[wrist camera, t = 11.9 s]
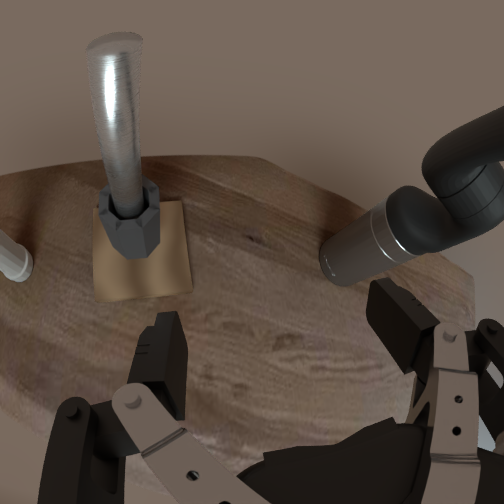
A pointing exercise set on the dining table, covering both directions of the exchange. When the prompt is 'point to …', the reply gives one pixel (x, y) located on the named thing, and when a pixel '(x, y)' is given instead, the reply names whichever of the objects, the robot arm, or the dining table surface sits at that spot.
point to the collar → (132, 223)
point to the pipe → (14, 259)
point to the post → (129, 180)
